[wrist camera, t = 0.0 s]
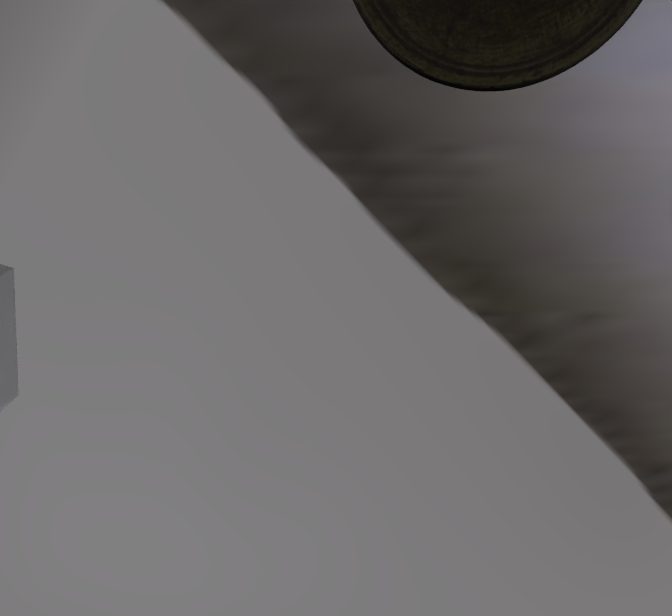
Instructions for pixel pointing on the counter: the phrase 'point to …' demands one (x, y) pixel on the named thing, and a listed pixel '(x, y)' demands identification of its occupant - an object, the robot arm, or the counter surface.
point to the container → (493, 37)
